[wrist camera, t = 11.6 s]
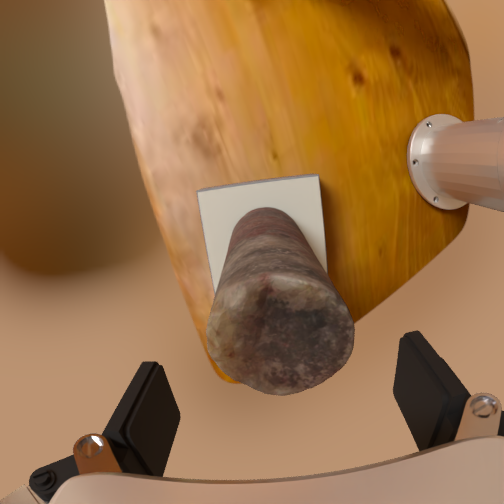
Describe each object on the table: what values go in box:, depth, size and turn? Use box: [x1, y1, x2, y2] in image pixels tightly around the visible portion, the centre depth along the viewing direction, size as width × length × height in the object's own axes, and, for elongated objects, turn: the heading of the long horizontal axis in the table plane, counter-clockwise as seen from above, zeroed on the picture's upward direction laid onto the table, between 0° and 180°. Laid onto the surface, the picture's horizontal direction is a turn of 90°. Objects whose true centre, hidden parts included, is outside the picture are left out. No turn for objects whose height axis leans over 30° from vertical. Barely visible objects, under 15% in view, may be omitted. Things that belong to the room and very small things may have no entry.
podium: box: [197, 174, 328, 293], centre depth 35 cm, size 13×13×4 cm
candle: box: [206, 207, 355, 396], centre depth 23 cm, size 8×7×20 cm
